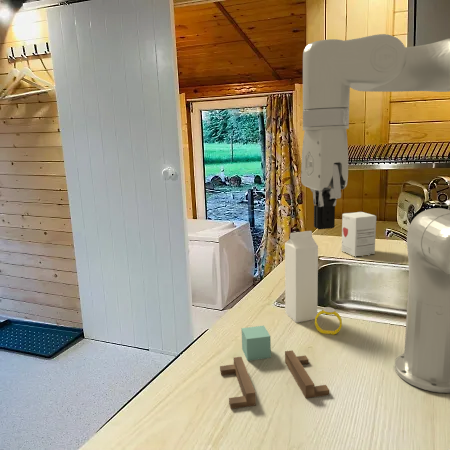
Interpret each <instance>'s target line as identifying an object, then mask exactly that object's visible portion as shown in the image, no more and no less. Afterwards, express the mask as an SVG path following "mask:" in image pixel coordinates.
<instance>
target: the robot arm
mask: <svg viewBox="0 0 450 450" xmlns="http://www.w3.org/2000/svg"><path fill="white" fill-rule="evenodd" d="M350 88H351V89H352V90H354V91H357V92H372V93H373V92H376V93H377V92H379V93H381V92H383V93H384V92H387V93H388V92H392V93H395V92H396V93H397V92H398V93H399V92H401V93H402V92H434V93H435V92H437V93H442V92H443V93H444V92H445V93H448V92H450V38H445V39H442V40H439V41H435V42H432V43H428V44H422V45H421V44H420V45H414V46H405V45H404V43H403V42H402V41H401V40H400V39H399V38H398V37H396V36H393V35H392V34H391V35H390V34H385V33H381V34H379V33H378V34H372V35H368V36H364V37H363V36H362V37H357V38H351V39H346V40H345V39H344V40H342V39H321V40H316V41H313V42H310V43H308V44H307V45H306V46H305V48H304V49H303V52H302V131H304V134H303V140H302V150H301V151H302V152H301V167H300V182H301V185H303V186H304V187H306V188H309V189H310V191H311V193H312V198H313V199H312V200H313V201H312V202H313V227H314V228H316V229H318V230H325V229H326V230H327V229H328V230H329V229H334V228H335V220H336V215H335V213H336V205H337V199H341V198H342V191H341V190H344V189H345V188H346V187H347V186H348V182H349V181H348V180H349V179H348V178H349V148H348V145H349V144H348V134H347V133H348V132H347V130H349V128H350V126H349V125H350V93H351V91H350V90H351V89H350ZM406 249H407V258H408V259H407V260H408V286H407V287H408V289H407V304H406V319H405V320H406V321H405V336H404V352H403V353H402V354H400V355H399V356H397V358H396V359H395V361H394V369H395V372H396V373H397V375H398V376H399V377H400V378H401V379H402V380H403V381H404V382H406V383H407V384H409V385H411V386H414V387H416V388H419V389H422V390H425V391H429V392H434V393H441V394H445V393H446V394H447V393H449V394H450V209H446V208H444V207H443V208H442V207H437V208H435V207H433V208H428V209H426V210H423V211H421V212H420V213H418V214H416V216H414V218H413V219H412V221H411V222H410V224H409V226H408V229H407V232H406Z"/></svg>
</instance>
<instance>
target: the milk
mask: <svg viewBox="0 0 450 450" xmlns="http://www.w3.org/2000/svg"><path fill="white" fill-rule="evenodd" d="M318 269H319V245H318V244H317V242H316V241H315V238H314V237H313V232H312V230H305V231H297V232H291V233H289V240H287V241H286V242H285V243H284V278H285V279H284V287H285V288H284V291H285V293H284V296H285V297H284V299H285V300H284V302H285V303H284V304H285V309H284V311H285V314H286V315H287V316H288V317H289V318H290V319H291V320H293V321H294V322H295V323H302V322H307V321H312V320H315V317H316V315H317V314H318V283H319V281H318V278H319V277H318V275H319V274H318V273H319V270H318Z"/></svg>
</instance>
